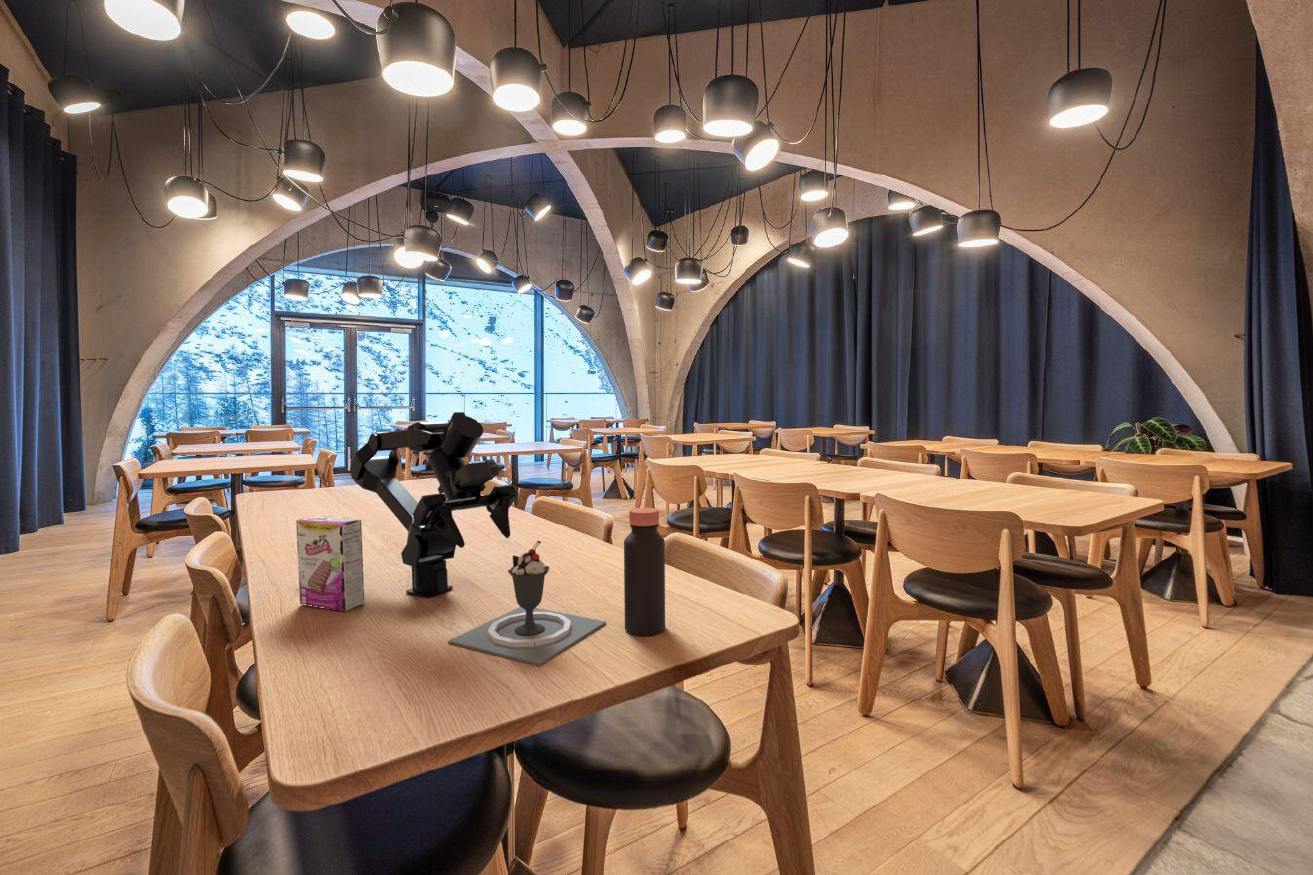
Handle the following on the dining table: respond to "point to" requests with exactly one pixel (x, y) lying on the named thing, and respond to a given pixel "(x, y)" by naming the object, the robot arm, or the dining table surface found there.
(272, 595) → the dining table surface
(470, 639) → the ring mat
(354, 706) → the dining table surface
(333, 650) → the dining table surface
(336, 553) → the candy bar box
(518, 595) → the sundae
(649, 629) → the bottle
